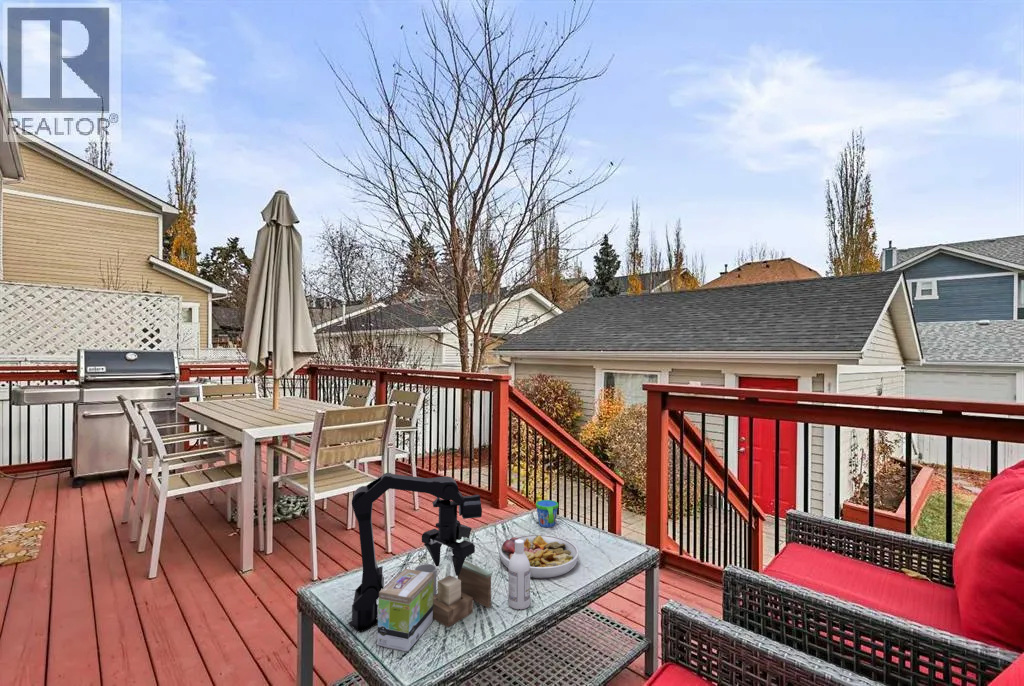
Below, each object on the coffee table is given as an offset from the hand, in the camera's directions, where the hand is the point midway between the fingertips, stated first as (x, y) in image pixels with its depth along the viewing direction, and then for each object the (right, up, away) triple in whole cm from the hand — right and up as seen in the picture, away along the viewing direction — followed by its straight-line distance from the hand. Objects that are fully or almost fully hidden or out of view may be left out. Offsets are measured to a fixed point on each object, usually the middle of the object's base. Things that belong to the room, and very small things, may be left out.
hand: (447, 570), depth 142 cm
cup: (-9, -13, +11) cm, 19 cm away
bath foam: (+22, -13, +5) cm, 26 cm away
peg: (+1, -13, -1) cm, 13 cm away
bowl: (+30, -14, +35) cm, 48 cm away
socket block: (+3, -13, +2) cm, 13 cm away
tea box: (-10, -13, -11) cm, 20 cm away
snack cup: (+36, -15, +73) cm, 83 cm away
